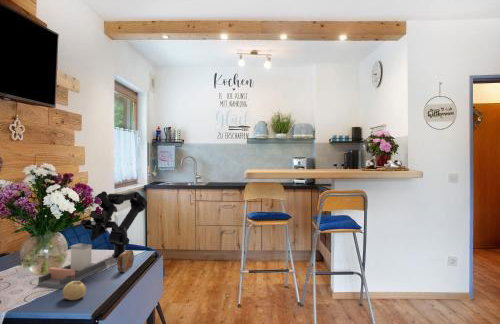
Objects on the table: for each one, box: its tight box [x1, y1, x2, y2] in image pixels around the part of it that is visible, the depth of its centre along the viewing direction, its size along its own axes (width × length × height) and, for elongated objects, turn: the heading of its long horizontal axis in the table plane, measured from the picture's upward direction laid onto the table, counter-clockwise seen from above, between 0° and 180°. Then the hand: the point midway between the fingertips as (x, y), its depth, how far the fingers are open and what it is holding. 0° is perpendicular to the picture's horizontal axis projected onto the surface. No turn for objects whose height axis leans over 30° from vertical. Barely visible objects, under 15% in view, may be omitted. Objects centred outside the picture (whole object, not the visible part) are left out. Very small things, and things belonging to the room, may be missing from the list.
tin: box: [116, 249, 135, 273], centre depth 168 cm, size 15×3×8 cm, turn 179°
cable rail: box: [37, 259, 107, 290], centre depth 157 cm, size 28×12×6 cm, turn 167°
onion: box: [61, 279, 87, 301], centre depth 133 cm, size 8×8×7 cm
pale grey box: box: [70, 242, 93, 271], centre depth 161 cm, size 5×7×11 cm
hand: (91, 240), depth 168 cm, fingers closed
